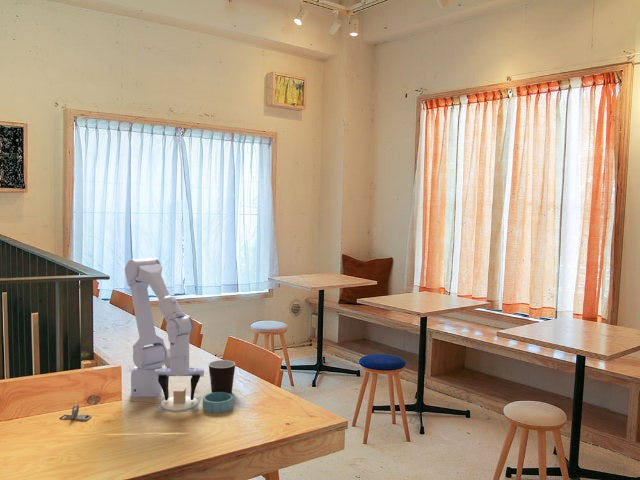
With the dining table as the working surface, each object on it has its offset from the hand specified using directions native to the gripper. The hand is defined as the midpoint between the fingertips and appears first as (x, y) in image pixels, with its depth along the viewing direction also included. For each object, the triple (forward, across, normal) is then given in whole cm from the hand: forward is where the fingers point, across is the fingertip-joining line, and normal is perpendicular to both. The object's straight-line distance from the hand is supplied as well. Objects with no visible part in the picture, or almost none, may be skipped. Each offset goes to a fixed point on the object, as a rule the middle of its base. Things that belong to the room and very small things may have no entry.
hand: (179, 398), depth 171 cm
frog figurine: (+2, -9, +38) cm, 39 cm away
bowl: (+2, +12, -3) cm, 13 cm away
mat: (+2, 0, 0) cm, 2 cm away
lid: (+2, 0, 0) cm, 2 cm away
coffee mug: (+2, +12, +11) cm, 17 cm away
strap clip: (+2, -28, -9) cm, 30 cm away
